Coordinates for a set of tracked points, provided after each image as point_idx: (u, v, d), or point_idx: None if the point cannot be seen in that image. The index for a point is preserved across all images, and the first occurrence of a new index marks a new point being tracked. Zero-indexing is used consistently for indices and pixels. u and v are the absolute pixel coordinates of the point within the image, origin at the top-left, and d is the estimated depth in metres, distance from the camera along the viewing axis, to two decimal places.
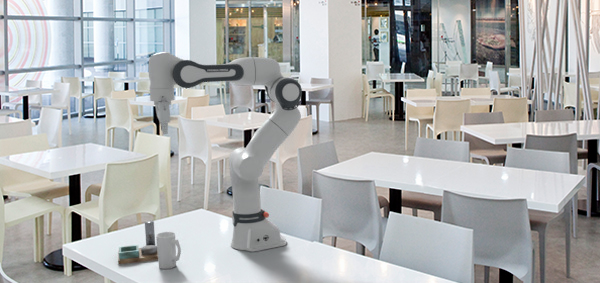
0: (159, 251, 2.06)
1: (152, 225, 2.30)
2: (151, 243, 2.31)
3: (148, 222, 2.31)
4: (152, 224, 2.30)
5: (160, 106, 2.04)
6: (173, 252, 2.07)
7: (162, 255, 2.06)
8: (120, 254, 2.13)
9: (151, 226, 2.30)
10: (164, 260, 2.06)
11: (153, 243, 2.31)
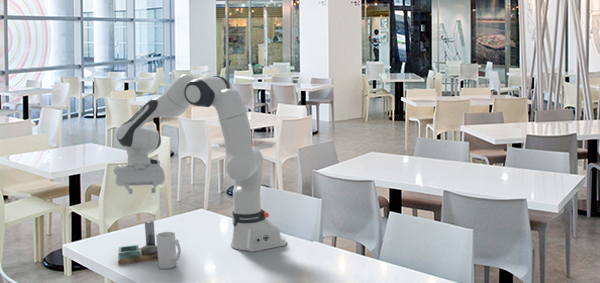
0: (159, 251, 2.06)
1: (152, 225, 2.30)
2: (151, 243, 2.31)
3: (148, 222, 2.31)
4: (152, 224, 2.30)
5: None
6: (173, 252, 2.07)
7: (162, 255, 2.06)
8: (120, 254, 2.13)
9: (151, 226, 2.30)
10: (164, 260, 2.06)
11: (153, 243, 2.31)
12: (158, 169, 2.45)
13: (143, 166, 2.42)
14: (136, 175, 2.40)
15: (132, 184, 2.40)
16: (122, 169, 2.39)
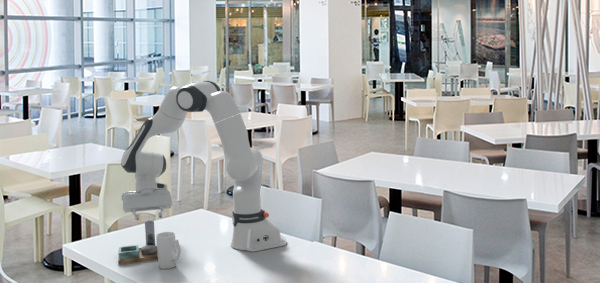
0: (159, 251, 2.06)
1: (152, 225, 2.30)
2: (151, 243, 2.31)
3: (148, 222, 2.31)
4: (152, 224, 2.30)
5: None
6: (173, 252, 2.07)
7: (162, 255, 2.06)
8: (120, 254, 2.13)
9: (151, 226, 2.30)
10: (164, 260, 2.06)
11: (153, 243, 2.31)
12: (165, 193, 2.42)
13: (150, 191, 2.41)
14: (143, 200, 2.39)
15: (139, 210, 2.39)
16: (129, 195, 2.39)
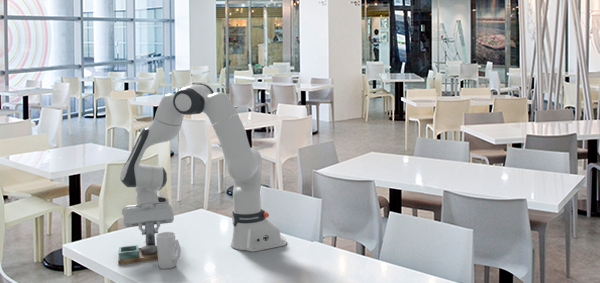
0: (159, 251, 2.06)
1: (152, 225, 2.30)
2: (151, 243, 2.31)
3: (148, 222, 2.31)
4: (152, 224, 2.30)
5: None
6: (173, 252, 2.07)
7: (162, 255, 2.06)
8: (120, 254, 2.13)
9: (151, 226, 2.30)
10: (164, 260, 2.06)
11: (153, 243, 2.31)
12: (166, 207, 2.37)
13: (151, 205, 2.36)
14: (144, 215, 2.33)
15: None
16: (130, 210, 2.34)
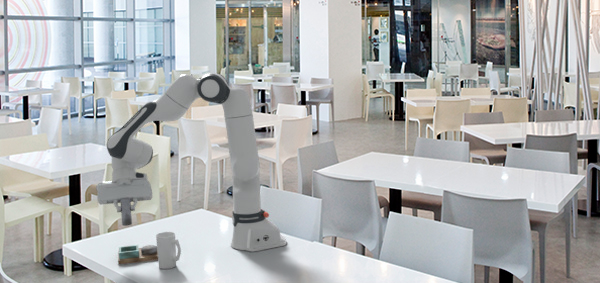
0: (159, 251, 2.06)
1: (128, 202, 2.14)
2: (127, 221, 2.14)
3: (124, 199, 2.14)
4: (128, 201, 2.14)
5: None
6: (173, 252, 2.07)
7: (162, 255, 2.06)
8: (120, 254, 2.13)
9: (127, 203, 2.13)
10: (164, 260, 2.06)
11: (129, 221, 2.15)
12: (144, 184, 2.21)
13: (127, 181, 2.19)
14: (119, 191, 2.17)
15: None
16: (105, 186, 2.17)
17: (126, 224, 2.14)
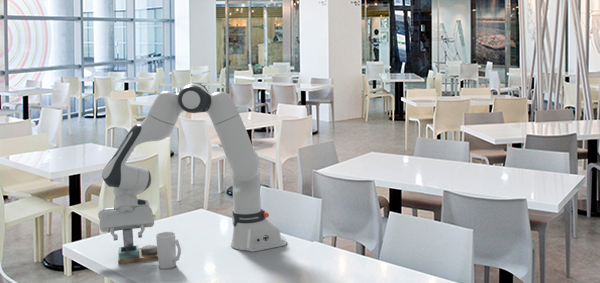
0: (159, 251, 2.06)
1: (130, 233, 2.15)
2: None
3: (126, 230, 2.15)
4: (130, 232, 2.15)
5: None
6: (173, 252, 2.07)
7: (162, 255, 2.06)
8: (120, 254, 2.13)
9: (130, 235, 2.15)
10: (164, 260, 2.06)
11: None
12: (146, 210, 2.22)
13: (129, 208, 2.21)
14: (121, 219, 2.18)
15: (118, 229, 2.19)
16: (107, 213, 2.18)
17: None
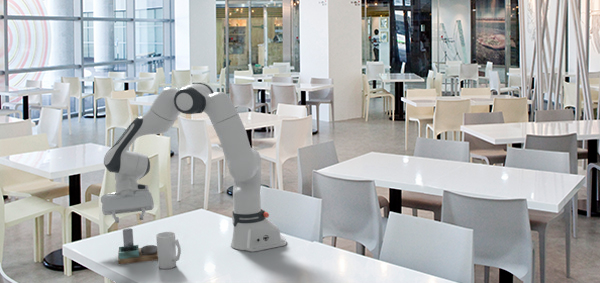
0: (159, 251, 2.06)
1: (130, 233, 2.15)
2: None
3: (126, 230, 2.16)
4: (130, 232, 2.15)
5: None
6: (173, 252, 2.07)
7: (162, 255, 2.06)
8: (120, 254, 2.13)
9: (130, 235, 2.15)
10: (164, 260, 2.06)
11: None
12: (146, 195, 2.34)
13: (130, 192, 2.33)
14: (123, 202, 2.31)
15: (120, 212, 2.31)
16: (109, 197, 2.31)
17: None
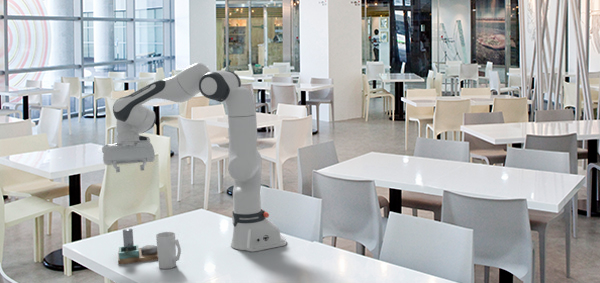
0: (159, 251, 2.06)
1: (131, 233, 2.15)
2: None
3: (126, 230, 2.16)
4: (131, 232, 2.15)
5: None
6: (173, 252, 2.07)
7: (162, 255, 2.06)
8: (120, 254, 2.13)
9: (130, 235, 2.15)
10: (164, 260, 2.06)
11: None
12: (147, 146, 2.35)
13: (131, 143, 2.33)
14: (124, 153, 2.31)
15: (121, 162, 2.31)
16: (110, 147, 2.31)
17: None
